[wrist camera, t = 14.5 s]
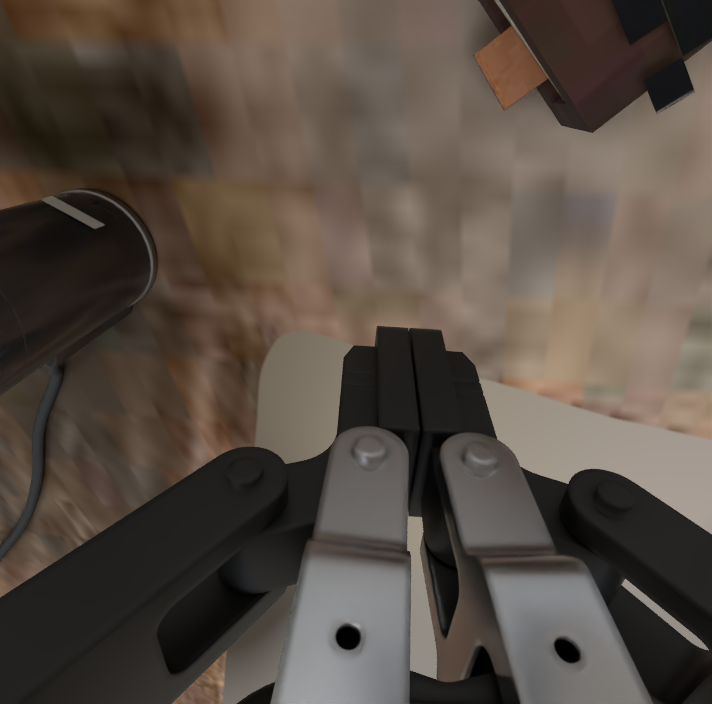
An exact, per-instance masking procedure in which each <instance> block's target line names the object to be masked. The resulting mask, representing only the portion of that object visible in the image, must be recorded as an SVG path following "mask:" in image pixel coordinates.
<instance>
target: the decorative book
mask: <svg viewBox="0 0 712 704" xmlns="http://www.w3.org/2000/svg"><path fill="white" fill-rule="evenodd" d="M479 2H480V3H481V5H482V6H483V8H484V9H485V11H486V12H487V14H488V15H489V17H490V18H491V20H492V21H493V23H494V24H495V26H496V27H497V29H498V30H499V32H500V33H501V34H500V35H499V36H498V37H497V38H495V39H494V40H493V41H492V42H490V43H489V44H488V45H487V46H485V47H484V48H483V49H482V50H480V51H479V52H478V53H477V54H475V55H474V58H475V60H476V62H477V63H478V65H479V67H480V69H481V71H482V72H483V74H484V76H485V78H486V79H487V81H488V83H489V85H490V87H491V88H492V90H493V92H494V94H495V96H496V97H497V99H498V101H499V103H500V105H501V106H502V108H503V110H506V109H507V108H508V107H510V106H511V105H513V104H514V103H515V102H517V101H518V100H519V99H521V98H522V97H524V96H525V95H526V94H528V93H529V92H530V91H532V90H533V89H535V88H537V89H538V91H539V92H540V94H541V95H542V97H543V98H544V100H545V101H546V103H547V105H548V106H549V108H550V109H551V111H552V112H553V114H554V115H555V117H556V118H557V120H558V121H559V123H560V124H561V126H566V127H570V128H574V129H579V130H583V131H587V132H592V133H593V132H594V131H595V130H597V129H598V128H599V127H601V126H602V125H603V124H605V123H606V122H607V121H608V120H610V119H611V118H612V117H614V116H615V115H616V114H617V113H619V112H620V111H621V110H623V109H624V108H625V107H627V106H628V105H629V104H630V103H632V102H633V101H634V100H636V99H637V98H638V97H639V96H641V95H642V94H643V93H645V92H646V91H648V93H649V96H650V98H651V101H652V103H653V106H654V109H655V111H656V114H658V113H660V112H662V111H663V110H665V109H667V108H668V107H670V106H672V105H673V104H675V103H677V102H678V101H680V100H682V99H683V98H685V97H687V96H689V95H690V94H692V93H694V92H695V91H694V88H693V86H692V83H691V80H690V77H689V75H688V72H687V69H686V66H685V63H684V62H685V61H686V60H687V59H689V58H690V57H691V56H693V55H694V54H695V53H696V52H698V51H699V50H700V49H702V48H703V47H704V46H706V45H707V44H708V43H709V42H711V41H712V0H479Z"/></svg>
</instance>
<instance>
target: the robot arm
mask: <svg viewBox="0 0 712 704" xmlns="http://www.w3.org/2000/svg"><path fill="white" fill-rule="evenodd" d="M156 272H157V257H156V252H155V248H154V244H153V241H152V239H151V237H150V235H149V232H148V231H147V229H146V227H145V226H144V224H143V223H142V221H141V220H140V219H139V218H138V216H137V215H136V214H135V213H134V212H133V211H132V210H131V209H130V208H129V207H128V206H126V205H125V204H124V203H122V202H121V201H119V200H118V199H116V198H115V197H113V196H111V195H109V194H106V193H104V192H101V191H98V190H93V189H84V188H80V189H73V190H68V191H65V192H62V193H59V194H57V195H55V196H50V197H46V198H42V199H40V200H36V201H32V202H29V203H25V204H21V205H17V206H14V207H10V208H6V209H2V210H0V395H2V394H3V393H5V392H6V391H8V390H9V389H10V388H11V387H13V386H14V385H16V384H17V383H19V382H20V381H22V380H23V379H24V378H26V377H27V376H29V375H30V374H32V373H33V372H34V371H36V370H37V369H39V368H40V367H42V366H43V365H44V366H46V370H47V373H48V374H49V375H50V380H49V383H48V386H47V389H46V392H45V394H44V397H43V399H42V402H41V404H40V407H39V410H38V412H37V416H36V419H35V423H34V428H33V437H32V458H33V471H32V480H31V486H30V491H29V496H28V500H27V503H26V506H25V509H24V511H23V514H22V516H21V518H20V520H19V522H18V524H17V525H16V527H15V528H14V530H13V531H12V533H11V534H10V535H9V536H8V538H7V539H6V540H5V541H4V543H3V544H2V545H1V546H0V560H1V559H2V558H3V557H4V555H5V554H6V553H7V551H8V550H9V549H10V548H11V546H12V545H13V544H14V543H15V542H16V540H17V539H18V538H19V537H20V535H21V534H22V533H23V531H24V529H25V528H26V526H27V524H28V522H29V520H30V518H31V516H32V514H33V512H34V509H35V507H36V504H37V501H38V497H39V494H40V489H41V484H42V479H43V471H44V433H45V427H46V422H47V418H48V415H49V412H50V410H51V407H52V404H53V402H54V399H55V397H56V395H57V392H58V390H59V387H60V384H61V381H62V377H63V371H62V369H61V368H60V367H59V365H60V364H61V363H62V362H64V361H65V360H67V359H68V358H69V357H71V356H72V355H73V354H75V353H76V352H78V351H79V350H80V349H82V348H83V347H84V346H86V345H87V344H89V343H90V342H91V341H93V340H94V339H95V338H97V337H98V336H100V335H101V334H102V333H104V332H105V331H106V330H108V329H109V328H111V327H112V326H113V325H115V324H116V323H117V322H119V321H120V320H122V319H123V318H124V317H126V316H127V315H129V314H130V313H131V309H132V305H133V304H135V303H136V302H137V301H139V300H140V299H142V298H143V297H144V296H145V295H146V294H147V293H148V292H149V290H150V289H151V287H152V285H153V283H154V280H155V277H156ZM338 418H339V419H338V428H337V435H336V438H335V440H334V442H333V443H332V445H331V446H330V447H329V448H328V449H327V450H326V451H324V452H323V453H321V454H320V455H318V456H316V457H313V458H311V459H308V460H304V461H299V462H295V463H289V464H285V463H284V461H283V460H282V459H281V458H280V457H279V456H278V455H277V454H275V453H273V452H272V451H270V450H267V449H264V448H259V447H242V448H236V449H233V450H230V451H227V452H225V453H223V454H221V455H220V456H218V457H216V458H215V459H213V460H212V461H210V462H209V463H207V464H206V465H204V466H203V467H201V468H199V469H198V470H196V471H195V472H193V473H192V474H190V475H189V476H187V477H186V478H184V479H183V480H181V481H179V482H178V483H176V484H175V485H173V486H172V487H170V488H169V489H167V490H166V491H164V492H162V493H161V494H159V495H158V496H156V497H155V498H153V499H152V500H150V501H149V502H147V503H146V504H144V505H142V506H141V507H139V508H138V509H136V510H135V511H133V512H132V513H130V514H129V515H127V516H125V517H124V518H122V519H121V520H119V521H118V522H116V523H115V524H113V525H112V526H110V527H109V528H107V529H105V530H104V531H102V532H101V533H99V534H98V535H96V536H95V537H93V538H92V539H90V540H88V541H87V542H85V543H84V544H82V545H81V546H79V547H78V548H76V549H75V550H73V551H72V552H70V553H68V554H67V555H65V556H64V557H62V558H61V559H59V560H58V561H56V562H55V563H53V564H51V565H50V566H48V567H47V568H45V569H44V570H42V571H41V572H39V573H38V574H36V575H35V576H33V577H31V578H30V579H28V580H27V581H25V582H24V583H22V584H21V585H19V586H18V587H16V588H14V589H13V590H11V591H10V592H8V593H7V594H5V595H4V596H2V597H1V598H0V704H172V703H173V702H174V701H175V700H176V699H177V698H178V697H179V696H180V695H181V694H182V693H183V692H184V691H185V690H186V689H187V688H188V687H189V686H190V685H191V684H192V683H193V682H194V681H195V680H196V679H197V678H198V677H199V676H200V675H201V674H202V673H203V672H204V671H205V670H206V669H207V668H208V667H209V666H210V665H211V664H213V663H214V662H215V661H216V660H217V659H218V658H219V657H220V656H221V655H222V654H223V653H224V652H225V651H226V650H227V649H228V648H229V647H230V646H231V645H232V644H233V643H234V642H235V641H236V640H237V639H238V638H239V637H240V636H241V635H242V634H243V633H244V632H245V631H246V630H247V629H248V628H249V627H250V626H251V625H252V624H253V623H254V622H255V621H256V620H258V618H260V617H261V616H262V615H263V614H264V613H265V612H266V611H267V610H268V609H269V608H270V607H271V606H272V605H273V604H274V603H275V602H276V601H277V600H278V599H279V598H280V597H281V596H282V595H283V593H284V592H285V590H286V589H287V586H290V585H293V584H297V585H296V590H295V594H294V599H293V604H292V608H291V613H290V617H289V622H288V627H287V631H286V636H285V640H284V645H283V649H282V654H281V658H280V663H279V668H278V672H277V677H276V681H275V682H274V683H271V684H269V685H266V686H264V687H262V688H261V689H259V690H257V691H255V692H253V693H251V694H250V695H248V696H247V697H246V698H244V699H243V700H241V701H240V702H238V703H237V704H712V534H710V533H709V532H707V531H705V530H704V529H703V528H701V527H700V526H698V525H697V524H695V523H694V522H692V521H691V520H689V519H688V518H686V517H685V516H683V515H682V514H680V513H679V512H677V511H676V510H674V509H673V508H671V507H670V506H668V505H667V504H665V503H664V502H662V501H661V500H659V499H658V498H656V497H655V496H653V495H652V494H650V493H649V492H647V491H646V490H644V489H643V488H641V487H640V486H639V485H637V484H635V483H634V482H632V481H631V480H629V479H627V478H625V477H623V476H621V475H619V474H616V473H613V472H610V471H606V470H600V469H588V470H583V471H580V472H578V473H576V474H575V475H574V476H573V477H572V478H571V480H570V481H569V484H566V483H563V482H560V481H557V480H553V479H550V478H547V477H543V476H540V475H537V474H535V473H532V472H530V471H528V470H525V469H523V468H522V467H520V465H519V462H518V460H517V458H516V456H515V455H514V453H513V452H512V451H511V450H510V449H509V448H508V447H507V446H506V445H505V444H503V443H502V442H500V441H499V440H497V437H496V434H495V431H494V427H493V424H492V421H491V417H490V414H489V411H488V407H487V404H486V400H485V397H484V396H483V391H482V388H481V384H480V383H479V377H478V374H477V371H476V367H475V365H474V364H473V363H472V362H471V361H470V360H469V359H468V358H467V357H466V356H465V355H464V354H463V352H452V351H446V348H445V344H444V340H443V335H442V331H441V330H433V329H418V328H410V329H409V332H408V328H400V327H384V326H377V330H376V340H375V347H370V346H353V347H352V348H351V350H350V351H349V352H348V353H347V354H346V355H345V357H344V361H343V374H342V383H341V395H340V406H339V417H338ZM408 514H409V516H415V517H422V521H423V531H424V532H423V536H422V541H421V547H420V554H421V560H422V566H423V572H424V577H425V583H426V589H427V594H428V601H429V606H430V612H431V618H432V623H433V629H434V635H435V641H436V648H437V680H436V679H433V678H430V677H427V676H424V675H421V674H419V673H416V672H413V671H410V611H411V610H410V609H411V555H410V552H409V551H407V519H408ZM625 578H626V579H627V580H628V581H629V582H630V583H632V584H633V585H634V586H635V587H637V588H638V589H639V590H640V591H642V592H643V593H644V594H645V595H647V596H648V597H649V598H650V599H651V600H653V601H654V602H655V603H657V604H658V605H659V606H660V607H661V608H662V609H664V610H665V611H666V612H668V613H669V614H670V615H671V616H672V617H674V618H675V619H676V620H677V621H678V622H680V623H681V624H682V625H683V626H685V627H686V628H687V629H689V630H690V631H691V632H692V633H693V634H695V635H696V636H697V637H698V638H699V639H700V640H702V642H703V643H704V644H705V645H706V646H707V648H708V649H709V651H708V650H704V649H701V648H699V647H697V646H695V645H694V644H692V643H691V642H690V641H688V640H687V639H686V638H685V637H683V636H682V635H681V634H680V633H679V632H677V631H676V630H675V629H674V628H673V627H671V626H670V625H669V624H668V623H666V622H665V621H664V620H663V619H662V618H660V617H659V616H658V615H657V614H656V613H654V612H653V611H652V610H651V609H650V608H648V607H647V606H646V605H645V604H644V603H642V602H641V601H640V600H639V599H637V598H636V597H635V596H634V595H633V594H631V593H630V592H629V591H628V590H627V589H625V588H624V587H623V586H622V585H621V584H622V583H623V581H624V580H625Z"/></svg>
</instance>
